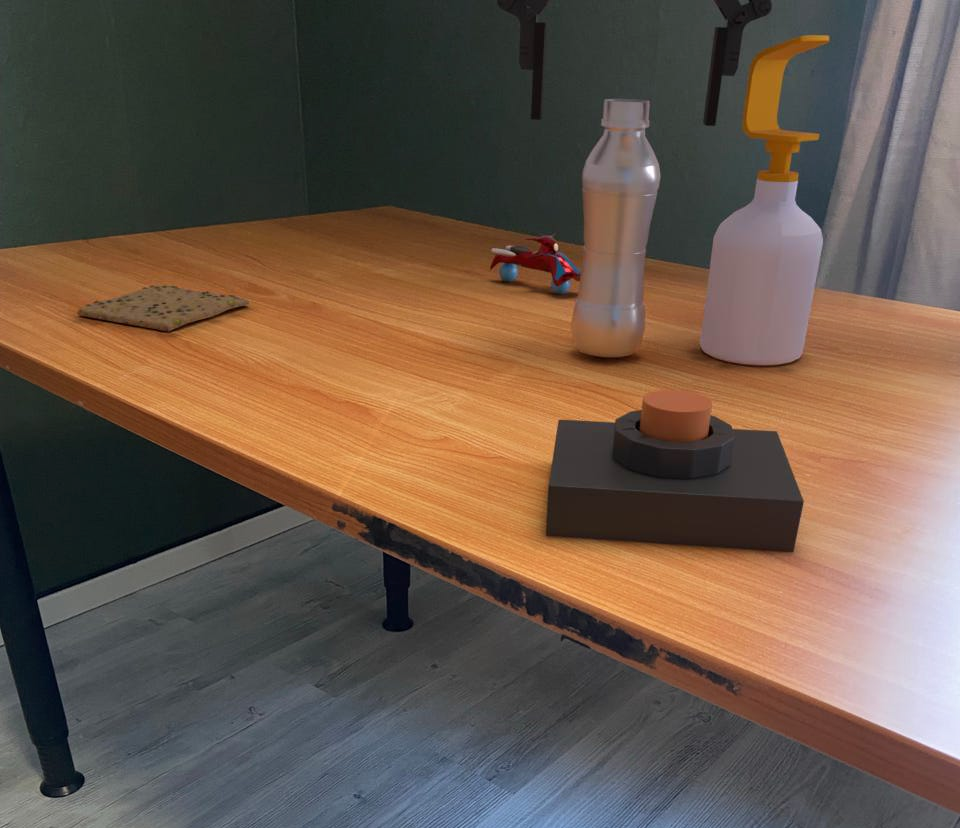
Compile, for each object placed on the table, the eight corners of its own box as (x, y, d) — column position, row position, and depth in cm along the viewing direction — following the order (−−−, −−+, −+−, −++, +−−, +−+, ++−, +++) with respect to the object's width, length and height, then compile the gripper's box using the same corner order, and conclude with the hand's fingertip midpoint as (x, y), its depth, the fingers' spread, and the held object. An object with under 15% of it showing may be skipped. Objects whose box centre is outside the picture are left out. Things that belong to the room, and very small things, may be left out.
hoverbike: (561, 301, 105) (564, 245, 102) (481, 282, 112) (482, 229, 109) (592, 294, 108) (596, 239, 105) (512, 275, 115) (514, 224, 112)
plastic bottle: (619, 342, 92) (641, 97, 82) (656, 362, 87) (684, 103, 76) (556, 348, 90) (570, 97, 79) (590, 369, 85) (610, 104, 74)
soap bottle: (760, 373, 84) (816, 35, 71) (678, 349, 90) (716, 33, 77) (822, 355, 89) (885, 36, 76) (740, 333, 95) (786, 34, 82)
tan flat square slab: (74, 315, 97) (72, 304, 96) (162, 290, 106) (161, 281, 106) (168, 331, 92) (166, 321, 92) (251, 304, 101) (250, 295, 101)
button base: (769, 477, 65) (782, 403, 62) (793, 553, 56) (810, 469, 53) (555, 465, 66) (560, 391, 64) (545, 536, 57) (550, 454, 55)
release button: (705, 424, 60) (709, 390, 59) (710, 447, 57) (715, 413, 56) (638, 420, 61) (642, 387, 59) (639, 444, 57) (643, 409, 56)
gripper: (463, -243, 65) (460, 119, 77) (852, -242, 63) (789, 131, 74) (477, -220, 72) (472, 112, 83) (831, -218, 69) (776, 122, 81)
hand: (622, 121), depth 79 cm, fingers open, 13 cm apart
